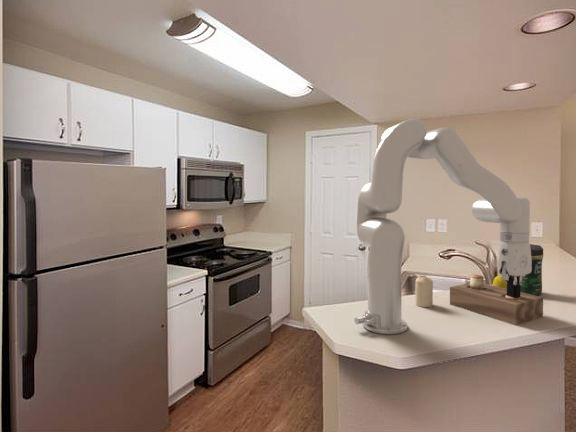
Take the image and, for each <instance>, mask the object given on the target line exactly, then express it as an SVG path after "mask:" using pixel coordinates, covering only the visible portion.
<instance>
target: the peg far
mask: <svg viewBox="0 0 576 432" xmlns="http://www.w3.org/2000/svg"><path fill="white" fill-rule="evenodd" d="M469 279H470V280H469V283H470V288H471V289H475V290H483V283H484V275H480V274H471V275H470V276H469ZM484 284H485V283H484Z"/></svg>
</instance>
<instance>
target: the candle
mask: <svg viewBox="0 0 576 432" xmlns="http://www.w3.org/2000/svg"><path fill="white" fill-rule="evenodd" d="M433 289H434V281H433V280H432V279H431V278H430V277H429V276H427V275H420V276H418V277H417V278H416V279H415V305H416V306H417V307H421V308H431V307H433V302H434V299H433V297H434V295H433Z"/></svg>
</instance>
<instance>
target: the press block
mask: <svg viewBox="0 0 576 432" xmlns="http://www.w3.org/2000/svg"><path fill="white" fill-rule="evenodd" d="M505 295H507V289H505V288H501V287H497V286H493V284H492V285H491V284H487V283H483V290H475V289H471V288H470V282H469V283H463V284H459V285H453V286H449V305H451V306H454V307H457V308H460V307H461V308H460V309H463V308H464V309H463V310H466V309H467V310H466V311H469V310H470V311H469V312H473V313H476V314H479V315H481V316H486V317H488V318H491V319H495V320H498V321H501V322H504V323H506V324H507V323H508V324H510V325H514V326H517V325H520V324H525V323H527V322H531V321H533V320H536V319H537V320H538V319H539V318H542V317H544V297H542V296H539V295H531V294H527V293H522V292H520V297H521V299H519V300H514V299H510V298H506V297H505Z"/></svg>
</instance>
